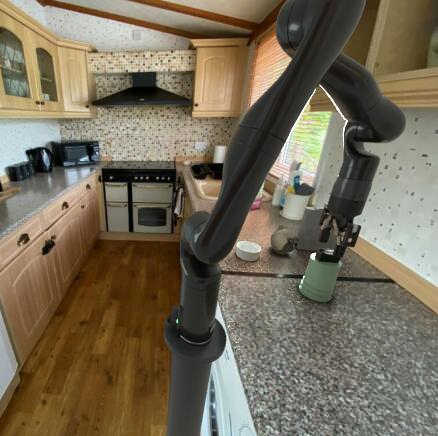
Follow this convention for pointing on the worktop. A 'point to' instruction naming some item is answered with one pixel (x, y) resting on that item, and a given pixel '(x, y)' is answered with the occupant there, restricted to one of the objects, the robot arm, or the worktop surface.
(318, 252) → the binder clip
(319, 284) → the cup stack
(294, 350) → the worktop surface
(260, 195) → the candy bar box
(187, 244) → the robot arm
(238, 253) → the ramekin
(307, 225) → the hip flask
